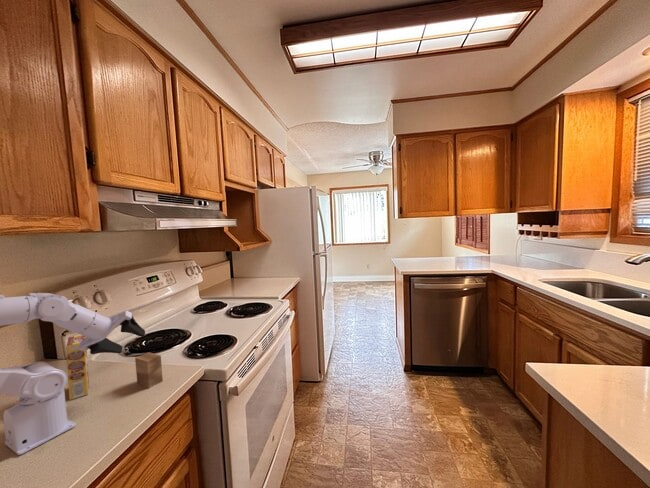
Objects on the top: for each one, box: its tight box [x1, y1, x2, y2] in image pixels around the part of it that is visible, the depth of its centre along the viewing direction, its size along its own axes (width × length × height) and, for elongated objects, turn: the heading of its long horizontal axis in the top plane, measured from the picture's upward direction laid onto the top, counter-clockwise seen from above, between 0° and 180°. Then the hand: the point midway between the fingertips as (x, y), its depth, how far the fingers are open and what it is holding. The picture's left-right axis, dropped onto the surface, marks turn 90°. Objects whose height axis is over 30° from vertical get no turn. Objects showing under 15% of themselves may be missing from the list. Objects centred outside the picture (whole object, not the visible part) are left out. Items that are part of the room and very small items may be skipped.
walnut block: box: [134, 352, 164, 389], centre depth 84 cm, size 4×6×8 cm, turn 63°
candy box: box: [65, 334, 90, 400], centre depth 80 cm, size 9×4×15 cm, turn 39°
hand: (132, 341), depth 80 cm, fingers open, 7 cm apart
